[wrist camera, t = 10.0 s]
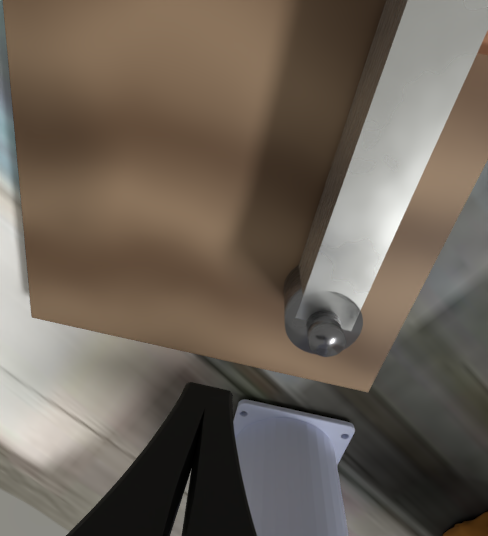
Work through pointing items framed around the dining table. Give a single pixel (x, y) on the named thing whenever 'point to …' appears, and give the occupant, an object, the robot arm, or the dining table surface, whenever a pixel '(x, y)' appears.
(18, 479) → the dining table surface
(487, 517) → the coffee package
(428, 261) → the brown wooden board
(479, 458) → the dining table surface
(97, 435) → the dining table surface
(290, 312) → the bar
